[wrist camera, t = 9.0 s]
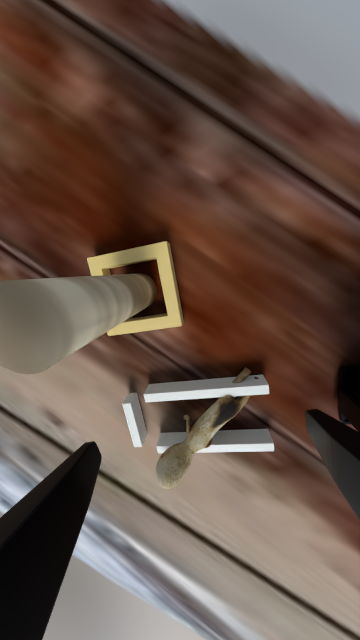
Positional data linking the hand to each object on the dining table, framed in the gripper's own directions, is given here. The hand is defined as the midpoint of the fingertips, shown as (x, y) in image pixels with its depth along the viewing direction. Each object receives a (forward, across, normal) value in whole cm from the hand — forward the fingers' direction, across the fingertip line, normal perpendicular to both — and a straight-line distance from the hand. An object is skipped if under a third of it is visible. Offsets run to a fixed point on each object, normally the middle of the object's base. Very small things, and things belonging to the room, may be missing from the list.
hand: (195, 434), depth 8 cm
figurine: (+13, +1, +10) cm, 16 cm away
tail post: (+14, +4, -5) cm, 15 cm away
